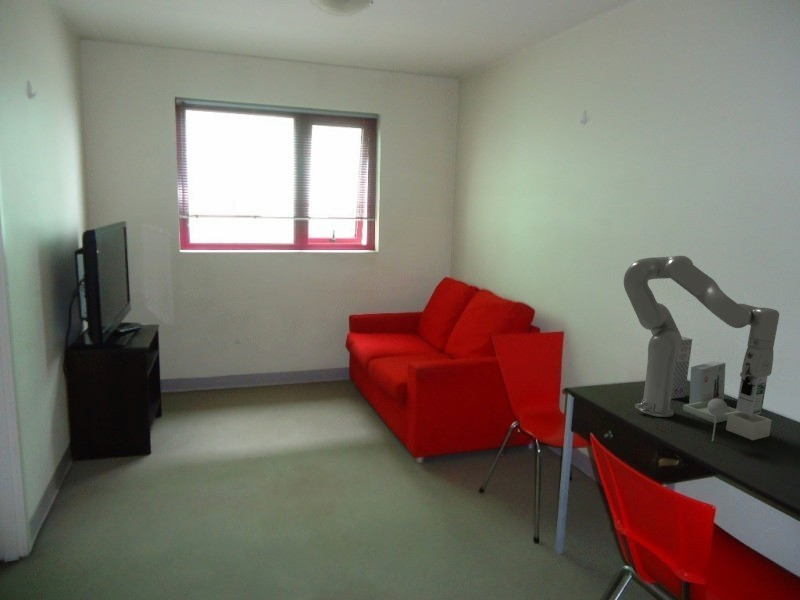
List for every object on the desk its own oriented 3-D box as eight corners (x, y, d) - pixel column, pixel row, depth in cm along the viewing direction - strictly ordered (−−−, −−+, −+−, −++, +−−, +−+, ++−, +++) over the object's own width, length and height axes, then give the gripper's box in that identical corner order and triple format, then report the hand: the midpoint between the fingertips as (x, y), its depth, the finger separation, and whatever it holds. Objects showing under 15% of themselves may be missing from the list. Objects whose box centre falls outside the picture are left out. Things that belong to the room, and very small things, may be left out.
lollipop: (722, 446, 183) (728, 403, 180) (702, 441, 186) (708, 399, 183) (722, 440, 188) (729, 398, 185) (703, 435, 191) (709, 394, 188)
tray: (713, 423, 203) (714, 416, 203) (682, 410, 214) (683, 404, 214) (741, 417, 210) (742, 411, 210) (709, 405, 221) (710, 399, 221)
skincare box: (702, 408, 218) (703, 368, 217) (688, 405, 222) (688, 366, 221) (725, 399, 230) (726, 362, 230) (712, 397, 235) (712, 360, 234)
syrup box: (751, 416, 190) (759, 376, 188) (735, 410, 195) (742, 370, 193) (761, 414, 193) (768, 374, 190) (744, 408, 198) (751, 369, 195)
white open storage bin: (752, 440, 189) (755, 423, 188) (725, 429, 197) (728, 413, 196) (769, 436, 193) (771, 419, 192) (742, 426, 201) (744, 410, 200)
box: (670, 399, 228) (677, 340, 224) (653, 392, 235) (660, 335, 231) (684, 396, 231) (692, 339, 227) (667, 390, 239) (674, 334, 235)
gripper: (756, 348, 182) (747, 399, 186) (786, 344, 190) (777, 394, 193) (734, 342, 189) (725, 392, 192) (764, 339, 197) (755, 387, 200)
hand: (751, 392), depth 193 cm, fingers closed on syrup box, 5 cm apart
